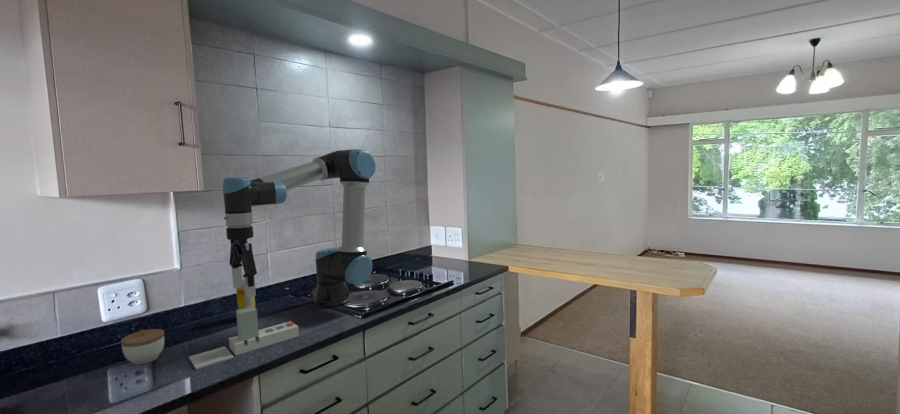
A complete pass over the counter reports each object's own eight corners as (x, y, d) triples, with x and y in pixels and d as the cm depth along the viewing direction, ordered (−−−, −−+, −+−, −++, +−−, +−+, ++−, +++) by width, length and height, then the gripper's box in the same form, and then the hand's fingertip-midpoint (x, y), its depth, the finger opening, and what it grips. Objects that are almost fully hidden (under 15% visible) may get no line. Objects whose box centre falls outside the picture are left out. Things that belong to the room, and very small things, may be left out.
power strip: (291, 330, 145) (290, 318, 145) (299, 336, 140) (298, 324, 140) (229, 348, 132) (228, 335, 132) (235, 355, 127) (234, 342, 126)
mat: (225, 348, 132) (224, 346, 132) (233, 358, 125) (233, 356, 125) (189, 358, 126) (189, 356, 126) (196, 369, 118) (195, 368, 118)
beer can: (250, 312, 164) (248, 276, 163) (259, 315, 161) (256, 278, 159) (235, 317, 160) (232, 280, 158) (243, 320, 156) (240, 282, 154)
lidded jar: (118, 371, 119) (114, 340, 118) (129, 356, 129) (126, 327, 128) (162, 363, 123) (158, 333, 122) (170, 349, 133) (167, 321, 132)
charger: (254, 336, 136) (252, 306, 135) (259, 340, 133) (256, 309, 131) (238, 341, 133) (236, 310, 131) (242, 345, 129) (240, 313, 128)
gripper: (216, 223, 135) (221, 286, 137) (238, 231, 117) (243, 303, 119) (240, 221, 140) (245, 281, 142) (265, 228, 122) (269, 297, 124)
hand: (244, 291), depth 131 cm, fingers open, 13 cm apart
